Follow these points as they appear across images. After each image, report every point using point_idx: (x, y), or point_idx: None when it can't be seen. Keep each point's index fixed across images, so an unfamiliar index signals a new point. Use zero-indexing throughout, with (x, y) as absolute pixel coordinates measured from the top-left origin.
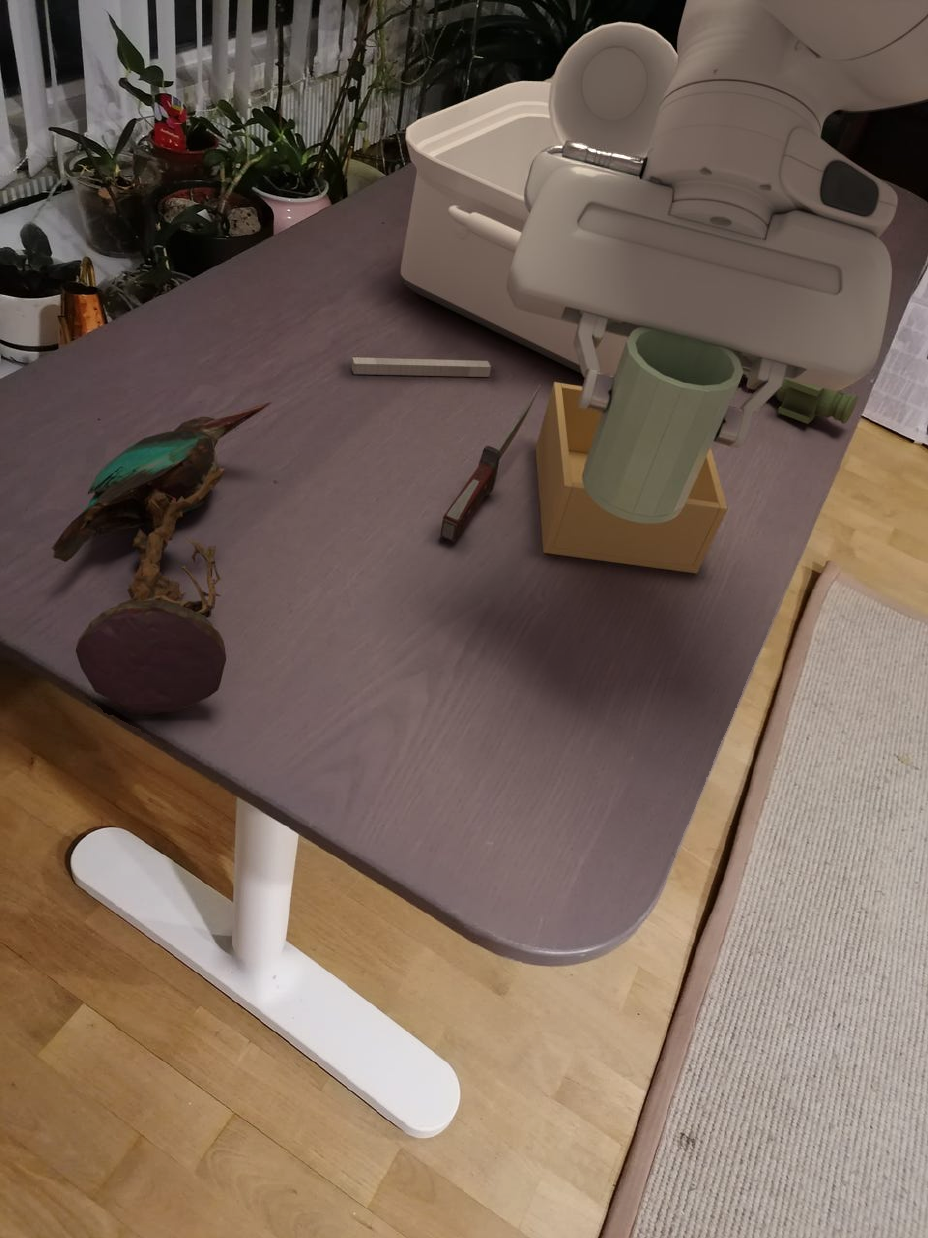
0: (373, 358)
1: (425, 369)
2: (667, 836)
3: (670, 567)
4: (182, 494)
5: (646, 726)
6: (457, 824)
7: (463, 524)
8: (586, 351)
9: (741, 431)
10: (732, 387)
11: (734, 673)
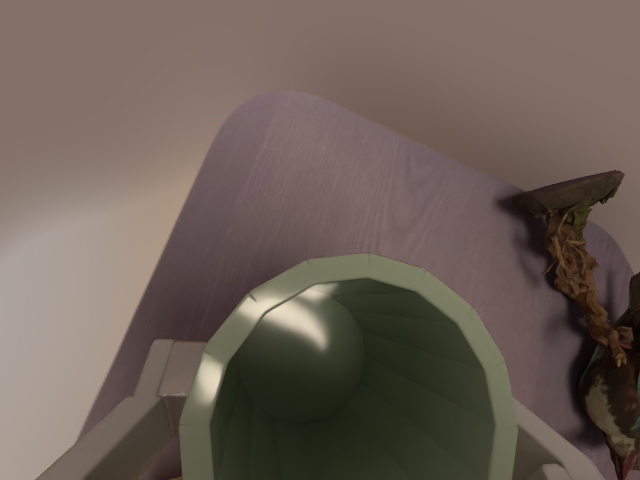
0: None
1: None
2: (204, 171)
3: (180, 477)
4: (606, 367)
5: (215, 265)
6: (344, 156)
7: None
8: (540, 426)
9: (164, 349)
10: (224, 321)
11: (125, 348)
